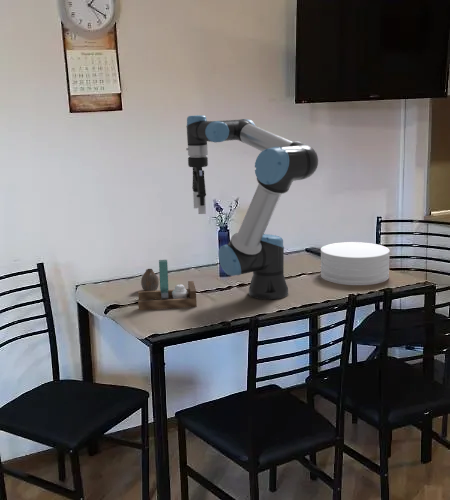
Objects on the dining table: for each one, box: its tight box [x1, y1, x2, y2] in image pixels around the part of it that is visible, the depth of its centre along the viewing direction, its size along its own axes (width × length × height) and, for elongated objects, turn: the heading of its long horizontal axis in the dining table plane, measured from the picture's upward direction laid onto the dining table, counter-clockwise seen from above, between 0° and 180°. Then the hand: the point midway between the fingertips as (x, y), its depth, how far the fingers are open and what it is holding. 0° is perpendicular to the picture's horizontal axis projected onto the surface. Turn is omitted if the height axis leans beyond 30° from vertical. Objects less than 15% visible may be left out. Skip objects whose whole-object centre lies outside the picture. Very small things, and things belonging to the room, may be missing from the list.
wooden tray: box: [137, 280, 198, 311], centre depth 257 cm, size 21×14×6 cm, turn 97°
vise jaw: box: [158, 259, 170, 300], centre depth 256 cm, size 3×10×16 cm, turn 7°
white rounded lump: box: [172, 284, 188, 299], centre depth 257 cm, size 6×6×7 cm
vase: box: [140, 268, 160, 291], centre depth 273 cm, size 7×7×9 cm
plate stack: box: [320, 241, 391, 286], centre depth 287 cm, size 28×28×12 cm
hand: (199, 211), depth 270 cm, fingers open, 13 cm apart
